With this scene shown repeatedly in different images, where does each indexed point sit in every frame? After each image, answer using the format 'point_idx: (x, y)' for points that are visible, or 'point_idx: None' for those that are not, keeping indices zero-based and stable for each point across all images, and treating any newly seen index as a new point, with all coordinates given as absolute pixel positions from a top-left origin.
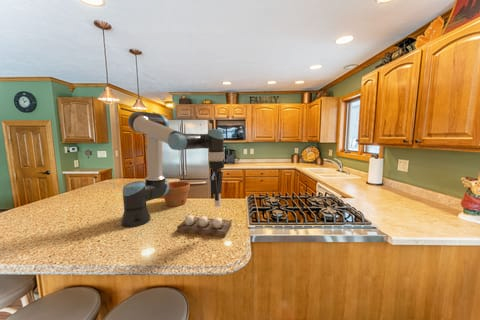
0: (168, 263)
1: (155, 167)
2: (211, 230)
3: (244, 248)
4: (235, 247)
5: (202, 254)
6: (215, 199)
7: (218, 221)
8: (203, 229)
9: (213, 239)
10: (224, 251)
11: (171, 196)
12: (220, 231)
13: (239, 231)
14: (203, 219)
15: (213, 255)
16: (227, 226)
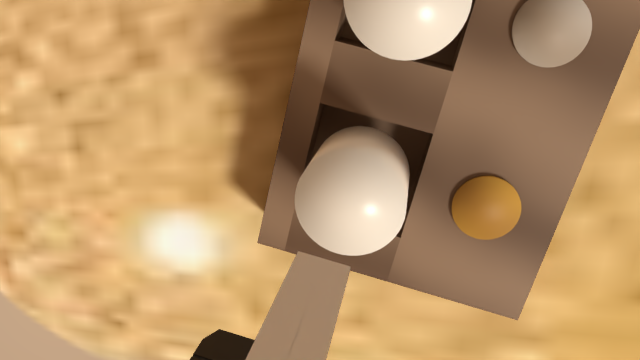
0: None
1: None
2: (287, 107)
3: (118, 347)
4: (125, 291)
5: (15, 51)
6: (196, 352)
7: (299, 212)
8: (308, 11)
9: (233, 120)
10: (70, 214)
11: None
12: (267, 200)
13: (373, 347)
14: (349, 9)
15: (15, 137)
16: (363, 271)
